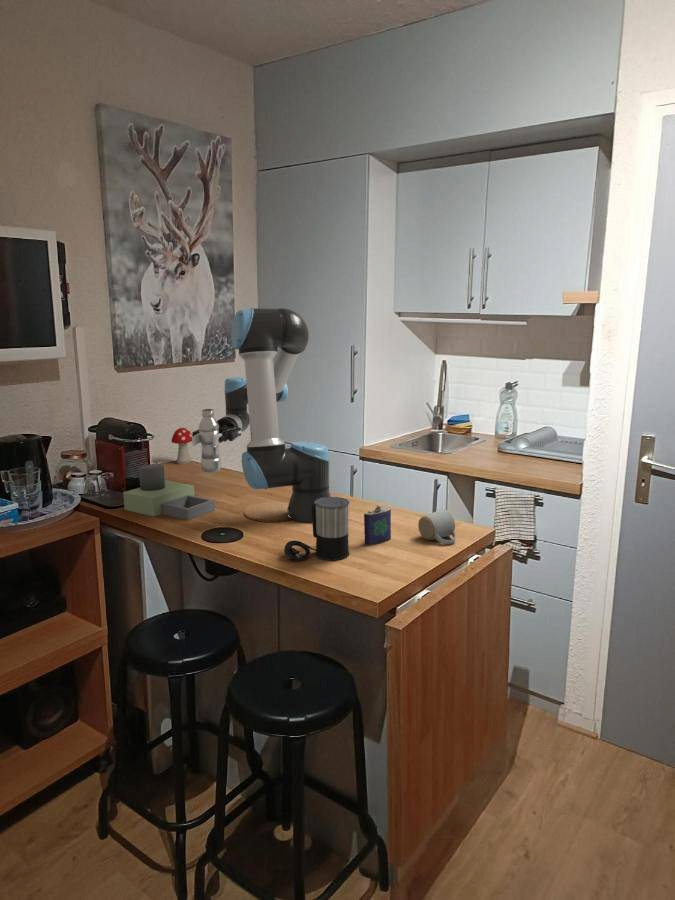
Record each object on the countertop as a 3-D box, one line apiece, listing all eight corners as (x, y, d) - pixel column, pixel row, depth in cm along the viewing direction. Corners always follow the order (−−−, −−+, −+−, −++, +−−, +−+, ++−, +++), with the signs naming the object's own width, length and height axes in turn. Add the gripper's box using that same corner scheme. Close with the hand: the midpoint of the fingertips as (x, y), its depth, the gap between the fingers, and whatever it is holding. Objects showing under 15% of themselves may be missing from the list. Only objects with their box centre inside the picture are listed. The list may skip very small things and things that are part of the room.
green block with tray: (221, 507, 222) (219, 469, 219) (181, 522, 207) (178, 482, 204) (165, 496, 236) (163, 460, 233) (124, 509, 221) (121, 471, 218)
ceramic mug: (415, 536, 192) (416, 511, 190) (437, 531, 197) (438, 506, 195) (440, 548, 184) (441, 521, 182) (463, 542, 188) (464, 516, 186)
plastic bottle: (219, 468, 218) (216, 407, 213) (223, 473, 211) (220, 410, 207) (199, 470, 216) (195, 408, 211) (202, 475, 209) (198, 412, 205)
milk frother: (357, 554, 180) (356, 500, 176) (316, 571, 168) (314, 514, 165) (318, 542, 189) (317, 491, 186) (277, 557, 178) (275, 504, 174)
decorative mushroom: (184, 459, 293) (182, 425, 290) (199, 461, 289) (197, 426, 286) (168, 463, 285) (165, 429, 281) (183, 466, 280) (181, 430, 277)
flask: (387, 536, 193) (387, 500, 190) (394, 539, 190) (394, 503, 188) (362, 543, 187) (362, 507, 185) (369, 546, 185) (368, 509, 183)
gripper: (255, 438, 228) (233, 454, 205) (202, 437, 231) (175, 452, 208) (254, 417, 226) (232, 430, 204) (200, 415, 229) (173, 428, 207)
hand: (203, 441), depth 206 cm, fingers closed on plastic bottle, 6 cm apart
